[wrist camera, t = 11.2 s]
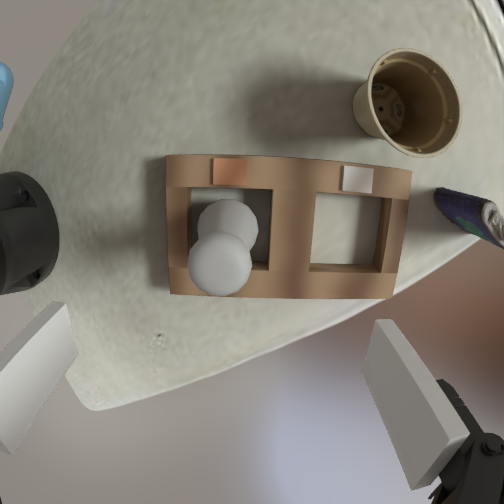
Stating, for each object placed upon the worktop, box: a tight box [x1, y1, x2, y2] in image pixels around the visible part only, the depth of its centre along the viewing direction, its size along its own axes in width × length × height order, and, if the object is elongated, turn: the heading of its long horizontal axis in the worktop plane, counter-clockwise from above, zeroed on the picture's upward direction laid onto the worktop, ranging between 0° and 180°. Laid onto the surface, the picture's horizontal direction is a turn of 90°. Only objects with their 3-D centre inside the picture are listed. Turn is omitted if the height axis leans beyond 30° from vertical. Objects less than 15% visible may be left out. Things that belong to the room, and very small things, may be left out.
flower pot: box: [353, 48, 462, 158], centre depth 24 cm, size 9×9×9 cm
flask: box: [433, 187, 504, 249], centre depth 27 cm, size 9×3×11 cm, turn 63°
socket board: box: [166, 154, 412, 299], centre depth 31 cm, size 24×14×3 cm, turn 88°
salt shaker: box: [187, 199, 259, 296], centre depth 26 cm, size 6×6×13 cm
